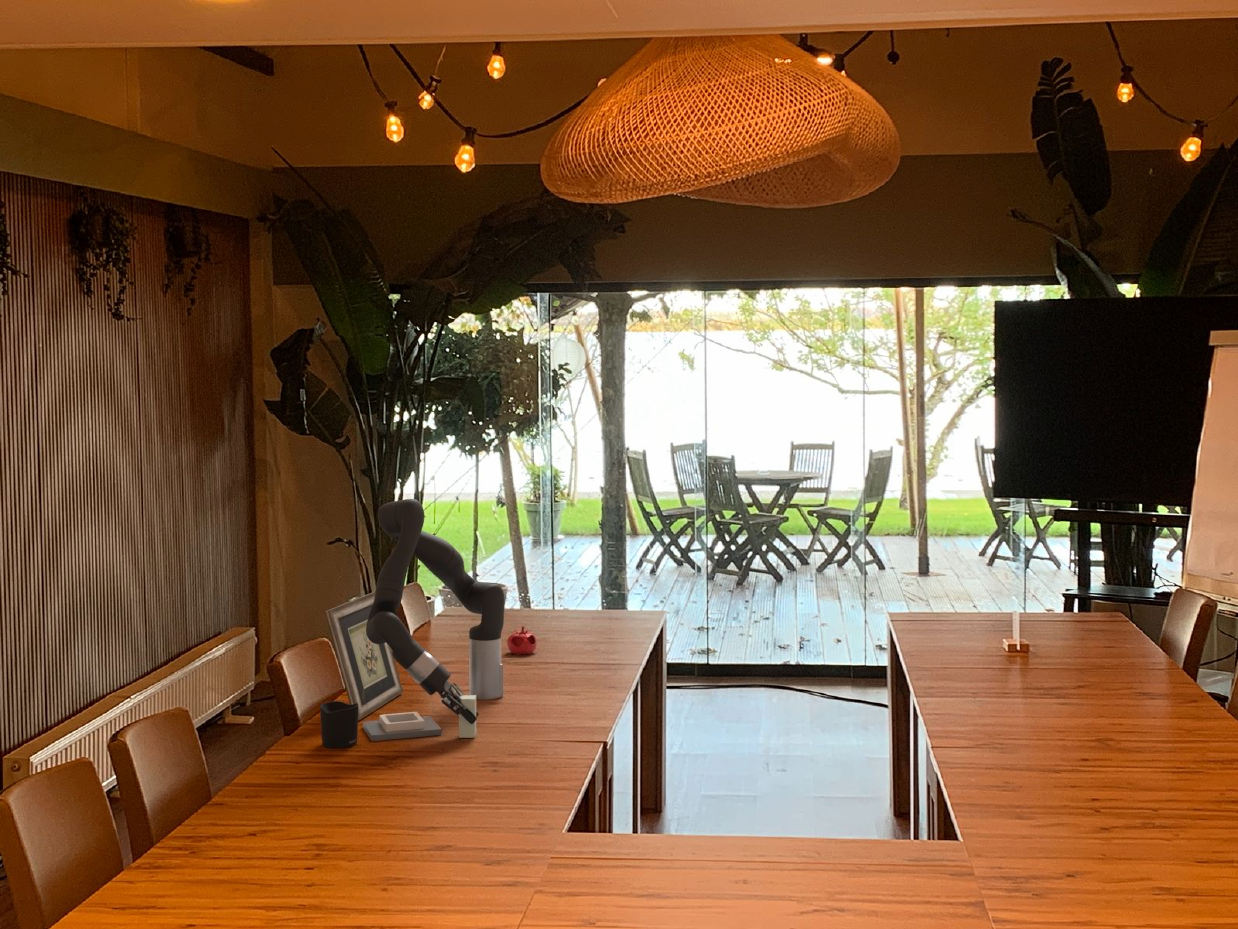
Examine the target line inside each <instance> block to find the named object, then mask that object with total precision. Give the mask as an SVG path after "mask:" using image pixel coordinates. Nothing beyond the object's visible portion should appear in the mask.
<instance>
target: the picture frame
mask: <svg viewBox="0 0 1238 929" xmlns="http://www.w3.org/2000/svg"><path fill="white" fill-rule="evenodd" d="M374 598H375V591H373V592H370V593H368V594H365V595H363V596H360V597H358V598H355V599H353V600H350V601H347V602H345V603H342V604H339V605H338V606H335V607H333V608H330V609H328V610H325V611H324V614H325V619H326V622H327V625H328V629H329V632H330V633H329V634H330V637H331V640H332V644H333V647H334V651H335V654H336V658H337V662H338V665H339V670H340V673H341V677H342V680H343V684H344V688H345V691H346V696H347V700H348V704H350V705H352V704H355V703H358V722H359V721H361V719H363V718H365V717H366V716H368V715H370V714H371V713H373V712H374V711H376V710H377V709H379V708H381V707H383V706H384V705H386V704H387V703H389V702H390V701H392V700H393V699H395V698H397V697H398V696H400V695H402V694H403V693H404V690H403V686H402V682H401V678H400V674H399V672H398V667H397V665H396V660H395V659H394V657H393V655H392V652H393V650H392V649H391V648H390V646H389V645H388V644H387V643H384V644H374V643H372V642H371V641H370V640H369V639H368V637H367V634H366V625H367V621H368V617H369V614H370V611H371V608H372V605H373V602H374Z"/></svg>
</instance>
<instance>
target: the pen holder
mask: <svg viewBox="0 0 1238 929" xmlns="http://www.w3.org/2000/svg"><path fill="white" fill-rule="evenodd" d="M319 712H320V714H319V715H320V731H321V732H320V733H321V744H322V746H323V747H325V748H327V749H332V750H333V749H334V750H337V749H338V750H339V749H348V748H351V747H354V746H356V745H357V743H358V732H359V731H358V729H359V721H358V703H355V704H352V705H350V703H346V702H345V701H341V700H340V701H339V700H334V701H333V700H332V701H328V702H324V703H322V704H320V705H319Z"/></svg>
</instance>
